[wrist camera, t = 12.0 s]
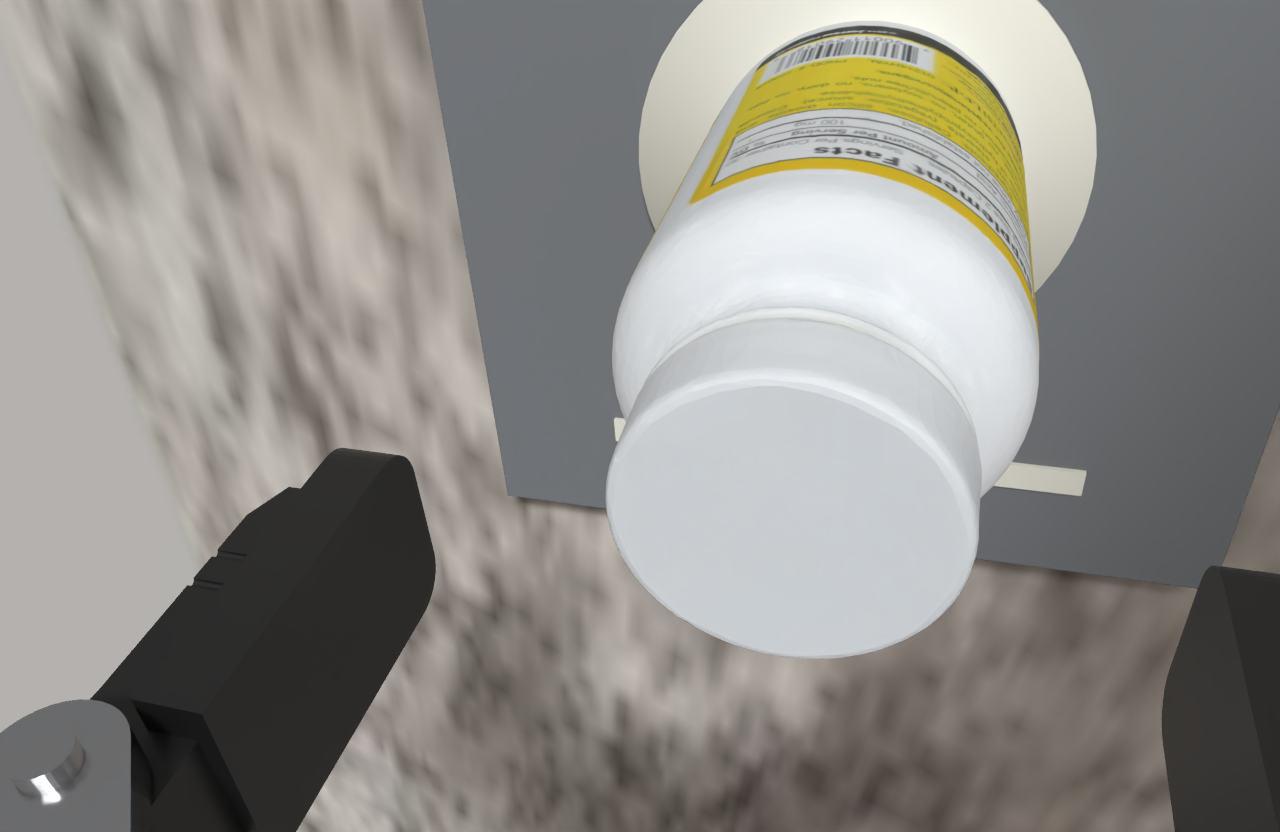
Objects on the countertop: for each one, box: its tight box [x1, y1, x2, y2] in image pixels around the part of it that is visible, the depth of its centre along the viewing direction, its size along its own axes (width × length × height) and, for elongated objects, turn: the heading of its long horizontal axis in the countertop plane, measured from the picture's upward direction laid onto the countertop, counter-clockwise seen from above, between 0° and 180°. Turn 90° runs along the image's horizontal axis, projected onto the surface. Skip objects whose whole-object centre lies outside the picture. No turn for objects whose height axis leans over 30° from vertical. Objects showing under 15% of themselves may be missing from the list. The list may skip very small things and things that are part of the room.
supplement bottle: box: [606, 21, 1039, 659], centre depth 15 cm, size 5×5×10 cm
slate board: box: [422, 0, 1280, 589], centre depth 19 cm, size 16×18×1 cm
